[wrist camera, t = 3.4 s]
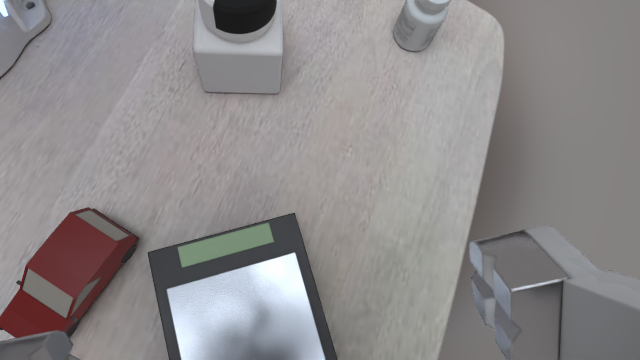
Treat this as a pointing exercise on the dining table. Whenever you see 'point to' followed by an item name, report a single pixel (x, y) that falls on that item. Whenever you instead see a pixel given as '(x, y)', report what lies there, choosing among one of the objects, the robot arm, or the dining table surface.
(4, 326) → the toy truck
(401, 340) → the dining table surface
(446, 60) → the dining table surface
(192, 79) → the dining table surface
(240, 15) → the container
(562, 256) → the robot arm
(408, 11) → the pill bottle
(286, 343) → the scale
